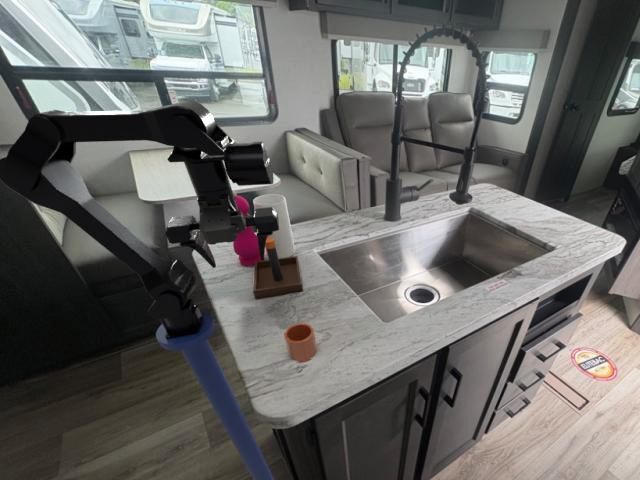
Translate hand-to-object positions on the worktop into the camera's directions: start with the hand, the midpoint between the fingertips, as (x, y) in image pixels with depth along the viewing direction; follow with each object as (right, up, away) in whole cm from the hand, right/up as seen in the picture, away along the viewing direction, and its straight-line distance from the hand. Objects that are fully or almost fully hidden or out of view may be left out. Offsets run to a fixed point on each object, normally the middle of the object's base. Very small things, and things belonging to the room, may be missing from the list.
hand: (239, 263), depth 66 cm
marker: (+1, -2, +18) cm, 18 cm away
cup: (-2, +7, +30) cm, 31 cm away
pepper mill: (-9, +3, +26) cm, 27 cm away
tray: (+1, -2, +18) cm, 19 cm away
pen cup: (+14, -18, -2) cm, 23 cm away
